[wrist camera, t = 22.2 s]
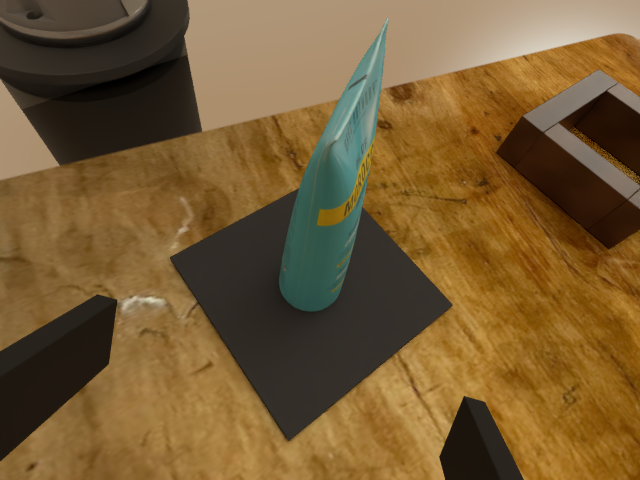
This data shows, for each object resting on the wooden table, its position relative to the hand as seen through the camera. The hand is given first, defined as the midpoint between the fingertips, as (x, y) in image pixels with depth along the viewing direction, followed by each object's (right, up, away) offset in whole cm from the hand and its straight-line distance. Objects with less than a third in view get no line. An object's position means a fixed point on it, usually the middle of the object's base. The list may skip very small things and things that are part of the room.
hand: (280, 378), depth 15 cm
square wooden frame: (+30, +13, +27) cm, 42 cm away
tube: (+1, +2, +17) cm, 17 cm away
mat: (+1, +2, +17) cm, 17 cm away
